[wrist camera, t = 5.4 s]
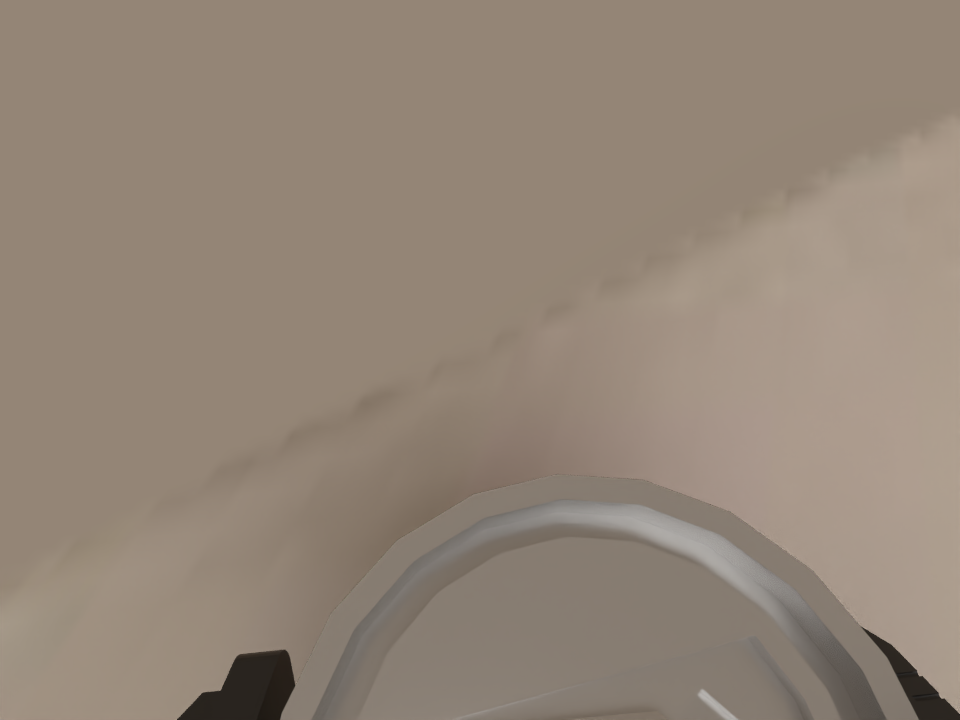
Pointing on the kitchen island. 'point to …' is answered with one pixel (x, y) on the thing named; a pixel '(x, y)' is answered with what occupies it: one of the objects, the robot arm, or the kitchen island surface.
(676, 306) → the kitchen island surface
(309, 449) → the kitchen island surface
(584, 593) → the beer can
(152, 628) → the kitchen island surface
